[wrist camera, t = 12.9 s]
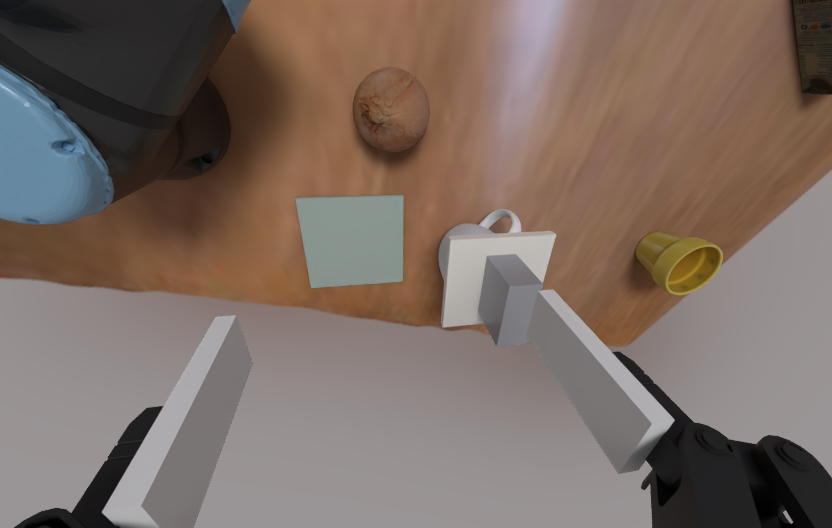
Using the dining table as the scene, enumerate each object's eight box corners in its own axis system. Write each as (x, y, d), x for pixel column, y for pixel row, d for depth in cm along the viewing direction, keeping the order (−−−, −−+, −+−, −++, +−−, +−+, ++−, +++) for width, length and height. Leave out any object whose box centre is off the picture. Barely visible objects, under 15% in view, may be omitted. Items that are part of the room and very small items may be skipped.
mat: (311, 286, 55) (311, 288, 54) (296, 197, 47) (295, 198, 46) (402, 280, 57) (402, 281, 57) (402, 194, 49) (403, 195, 49)
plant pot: (626, 233, 60) (669, 258, 52) (678, 214, 60) (730, 236, 52) (624, 275, 66) (663, 303, 57) (671, 257, 65) (717, 283, 57)
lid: (440, 321, 46) (455, 365, 39) (448, 235, 39) (468, 270, 32) (529, 313, 48) (558, 353, 42) (551, 230, 41) (590, 261, 34)
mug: (473, 180, 50) (507, 210, 39) (518, 216, 54) (560, 251, 43) (417, 251, 55) (433, 295, 44) (463, 278, 59) (488, 324, 48)
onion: (361, 115, 45) (324, 126, 37) (393, 50, 40) (358, 45, 32) (413, 157, 46) (388, 176, 38) (452, 98, 41) (432, 106, 33)
